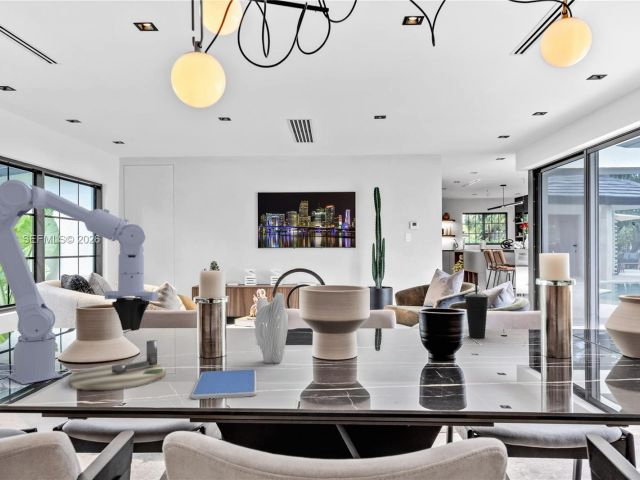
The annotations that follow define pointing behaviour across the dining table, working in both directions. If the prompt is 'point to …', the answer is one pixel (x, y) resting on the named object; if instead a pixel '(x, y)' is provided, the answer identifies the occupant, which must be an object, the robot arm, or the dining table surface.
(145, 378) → the dial board
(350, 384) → the dining table surface
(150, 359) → the lever
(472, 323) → the drinking cup
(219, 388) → the tablet computer
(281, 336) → the white ribbed vase
